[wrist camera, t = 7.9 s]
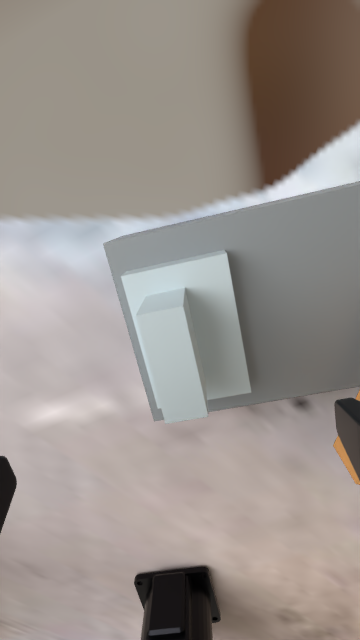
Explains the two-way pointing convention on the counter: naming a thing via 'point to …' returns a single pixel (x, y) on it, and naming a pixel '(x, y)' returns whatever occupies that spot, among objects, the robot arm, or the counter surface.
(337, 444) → the orange square pillar
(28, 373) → the counter surface
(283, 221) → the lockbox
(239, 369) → the cover
